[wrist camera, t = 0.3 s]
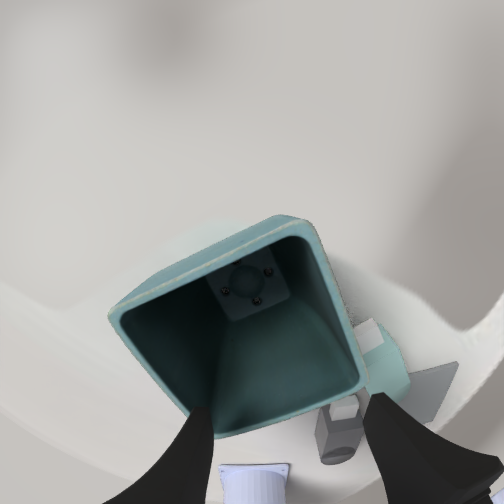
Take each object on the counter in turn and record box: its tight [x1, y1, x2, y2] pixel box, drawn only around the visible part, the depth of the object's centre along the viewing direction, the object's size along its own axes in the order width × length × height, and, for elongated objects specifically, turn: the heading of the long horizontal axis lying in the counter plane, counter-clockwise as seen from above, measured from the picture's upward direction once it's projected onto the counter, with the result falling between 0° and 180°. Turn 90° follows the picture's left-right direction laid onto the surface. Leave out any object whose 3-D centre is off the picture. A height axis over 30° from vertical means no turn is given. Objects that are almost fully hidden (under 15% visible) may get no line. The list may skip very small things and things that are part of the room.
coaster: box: [397, 361, 459, 424], centre depth 23 cm, size 9×9×1 cm
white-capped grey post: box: [315, 395, 364, 465], centre depth 22 cm, size 8×3×4 cm, turn 1°
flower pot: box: [108, 215, 370, 439], centre depth 15 cm, size 9×9×9 cm
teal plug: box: [353, 317, 411, 403], centre depth 20 cm, size 8×3×4 cm, turn 31°
